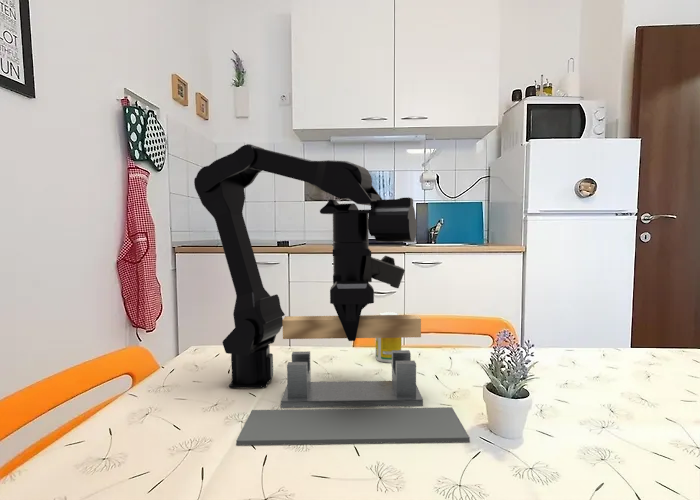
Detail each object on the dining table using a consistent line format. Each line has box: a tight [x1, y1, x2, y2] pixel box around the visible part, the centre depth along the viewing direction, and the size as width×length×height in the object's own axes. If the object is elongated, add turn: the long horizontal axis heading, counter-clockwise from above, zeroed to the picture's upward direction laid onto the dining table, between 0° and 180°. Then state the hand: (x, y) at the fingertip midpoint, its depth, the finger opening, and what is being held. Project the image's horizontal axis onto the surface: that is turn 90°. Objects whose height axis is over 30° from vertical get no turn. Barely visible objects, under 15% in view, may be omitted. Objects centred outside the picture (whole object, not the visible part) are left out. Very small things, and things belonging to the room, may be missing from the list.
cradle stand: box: [280, 349, 424, 409], centre depth 69 cm, size 22×8×6 cm, turn 91°
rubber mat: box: [235, 406, 471, 446], centre depth 58 cm, size 30×9×1 cm, turn 91°
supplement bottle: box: [375, 311, 402, 364], centre depth 88 cm, size 5×5×10 cm
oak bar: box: [282, 314, 422, 340], centre depth 68 cm, size 22×3×3 cm, turn 91°
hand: (351, 337), depth 68 cm, fingers closed on oak bar, 3 cm apart
